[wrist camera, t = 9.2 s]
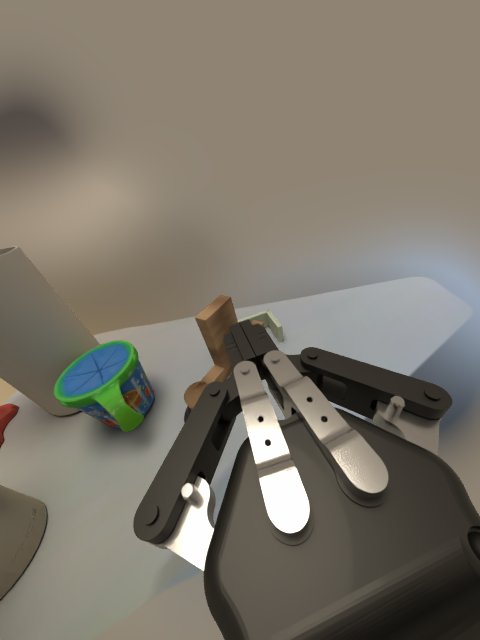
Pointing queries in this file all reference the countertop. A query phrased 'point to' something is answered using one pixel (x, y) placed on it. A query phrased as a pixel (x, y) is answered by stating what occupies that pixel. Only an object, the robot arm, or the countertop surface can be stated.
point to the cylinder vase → (36, 332)
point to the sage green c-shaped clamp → (267, 322)
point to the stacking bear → (6, 417)
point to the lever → (214, 344)
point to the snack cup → (107, 385)
